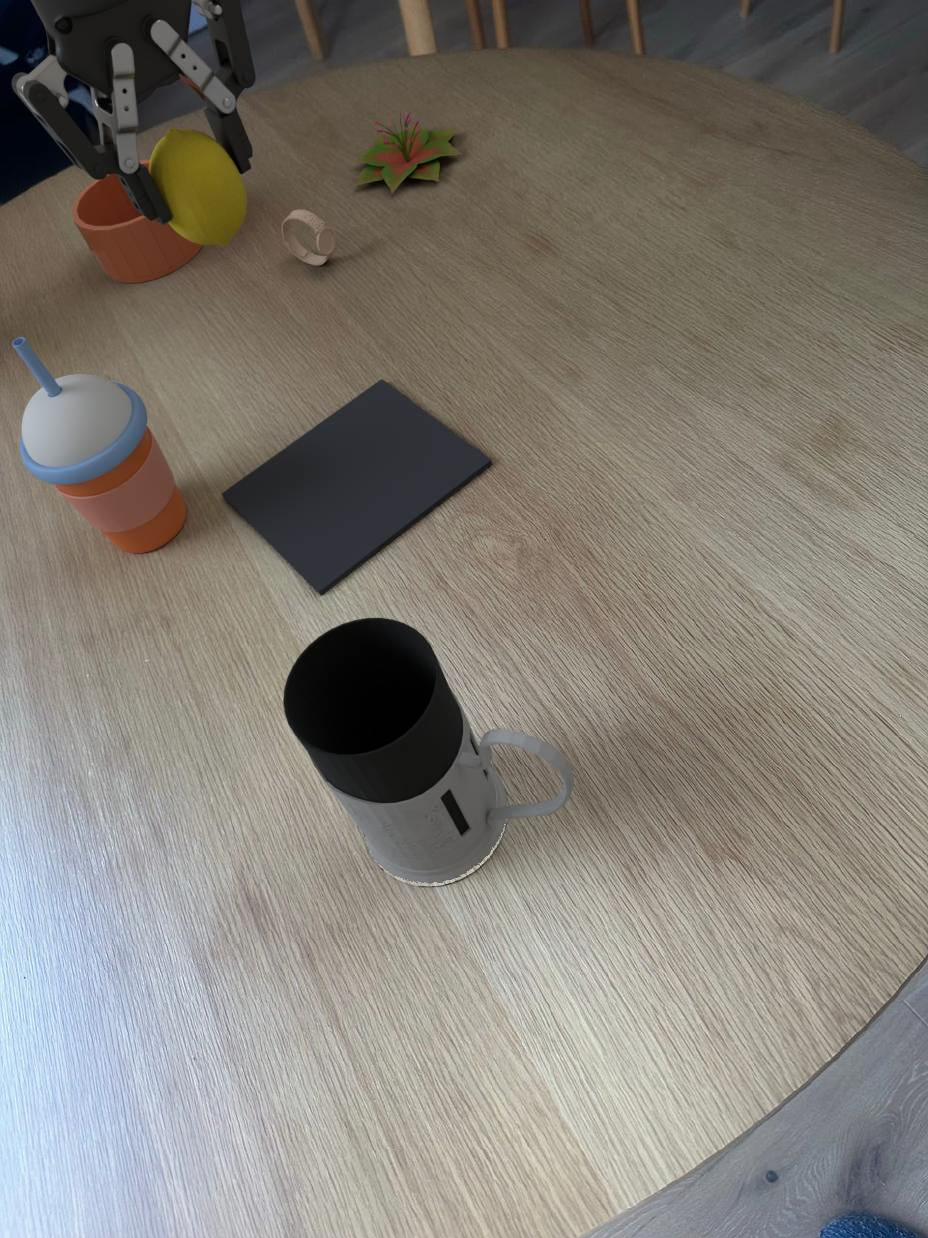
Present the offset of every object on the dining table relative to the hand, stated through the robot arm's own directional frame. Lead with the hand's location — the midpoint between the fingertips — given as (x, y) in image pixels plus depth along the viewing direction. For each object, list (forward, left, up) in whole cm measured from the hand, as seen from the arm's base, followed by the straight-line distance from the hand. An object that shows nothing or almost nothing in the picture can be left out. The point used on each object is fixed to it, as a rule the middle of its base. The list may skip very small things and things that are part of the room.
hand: (200, 192), depth 62 cm
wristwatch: (+13, +18, -21) cm, 31 cm away
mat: (-1, -8, -21) cm, 22 cm away
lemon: (0, 0, -4) cm, 4 cm away
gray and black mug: (-12, -36, -21) cm, 43 cm away
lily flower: (+28, +23, -21) cm, 42 cm away
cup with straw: (-15, +2, -21) cm, 26 cm away
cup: (+4, +35, -21) cm, 41 cm away
